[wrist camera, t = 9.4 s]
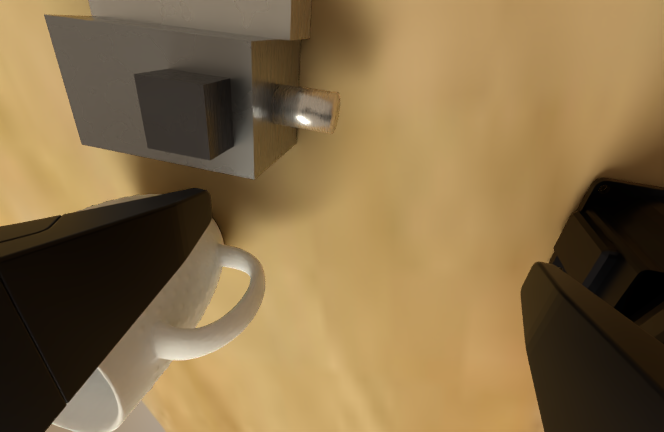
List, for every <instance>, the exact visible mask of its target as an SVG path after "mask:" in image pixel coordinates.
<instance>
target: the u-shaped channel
mask: <svg viewBox="0 0 664 432" xmlns="http://www.w3.org/2000/svg"><path fill="white" fill-rule="evenodd" d="M88 1H89V5H90V10H91V14H92V16H72V15H44V16H45V20H46V23H47V27H48V30H49V33H50V37H51V40H52V44H53V47H54V51H55V54H56V58H57V61H58V64H59V68H60V71H61V75H62V78H63V82H64V85H65V88H66V92H67V95H68V99H69V102H70V106H71V109H72V112H73V116H74V119H75V123H76V126H77V130H78V133H79V137H80V140H81V143H82V145H87V146H92V147H97V148H102V149H107V150H112V151H117V152H122V153H126V154H131V155H136V156H141V157H146V158H151V159H156V160H161V161H166V162H171V163H175V164H180V165H185V166H190V167H195V168H200V169H205V170H210V171H215V172H220V173H224V174H229V175H234V176H239V177H244V178H249V179H256V178H257V177H258V176H259V175H260V174H261V173H263V172H264V171H265V170H266V169H267V168H268V167H270V166H271V165H272V164H273V163H274V162H275V161H277V160H278V159H279V158H280V157H281V156H282V155H284V154H285V153H286V152H287V151H288V150H289V149H291V148H292V147H293V146H294V145H295V144H296V137H297V128H301V129H307V130H313V131H319V132H324V133H330V134H333V133H334V131H335V129H336V126H337V122H338V117H339V111H340V95H339V93H338V92H331V91H325V90H318V89H311V88H305V87H299V68H300V45H301V39H310V21H311V3H312V0H88Z"/></svg>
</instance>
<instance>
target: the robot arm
mask: <svg viewBox="0 0 664 432" xmlns="http://www.w3.org/2000/svg"><path fill="white" fill-rule="evenodd" d="M603 185H607V187H606V188H605V189H604V190H602V191H598V190H599V188H600V187H601V186H603ZM211 220H212V207H211V197H210V193H209V192H208V191H207V190H203V189H199V188H191V189H187V190H182V191H177V192H172V193H167V194H162V195H157V196H152V197H147V198H142V199H137V200H132V201H127V202H123V203H118V204H113V205H108V206H103V207H98V208H93V209H88V210H83V211H78V212H73V213H68V214H64V215H62V216H61V215H58V216H53V217H48V218H43V219H38V220H33V221H28V222H23V223H17V224H12V225H6V226H0V432H45V431H46V430H47V429H48V428H49V426H50V425H51V424H52V423H53V421H54V420H55V419H56V418H57V417H58V415H59V414H60V413H61V412H62V411H63V409H64V408H65V407H66V405H67V404H66V403H69V402H70V400H71V399H72V398H73V397H74V396H75V394H76V393H77V392H78V391H79V390H80V388H81V387H82V386H83V385H84V383H85V382H86V381H87V380H88V379H89V377H90V376H91V375H92V374H93V373H94V371H95V370H96V369H97V368H98V366H99V365H100V364H101V363H102V362H103V360H104V359H105V358H106V357H107V356H108V354H109V353H110V352H111V351H112V349H113V348H114V347H115V346H116V345H117V343H118V342H119V341H120V340H121V339H122V337H123V336H124V335H125V334H126V333H127V331H128V330H129V329H130V328H131V326H132V325H133V324H134V323H135V322H136V320H137V319H138V318H139V317H140V316H141V314H142V313H143V312H144V311H145V309H146V308H147V307H148V306H149V305H150V303H151V302H152V301H153V300H154V299H155V297H156V296H157V295H158V294H159V292H160V291H161V290H162V289H163V288H164V286H165V285H166V284H167V283H168V282H169V280H170V279H171V278H172V277H173V275H174V274H175V273H176V272H177V271H178V269H179V268H180V267H181V266H182V264H183V263H184V262H185V260H186V259H187V258H188V256H189V255H190V253H191V252H192V250H193V249H194V247H195V246H196V244H197V243H198V241H199V240H200V238H201V236H202V235H203V233H204V232H205V230H206V229H207V227H208V226H209V224H210V222H211ZM554 251H555V252H554V254H553V256H552V258H551V260H550V262H549V263H544V262H536V263H534V265H533V266H532V268H531V270H530V272H529V274H528V276H527V278H526V279H525V281H524V283H523V285H522V288H521V304H522V315H523V326H524V336H525V345H526V351H527V356H528V361H529V365H530V370H531V374H532V379H533V383H534V388H535V392H536V397H537V401H538V405H539V410H540V414H541V419H542V423H543V428H544V432H664V188H662V187H657V186H651V185H645V184H639V183H633V182H627V181H621V180H616V179H610V178H599V179H597V180H595V181H593V183H592V184H591V185H590V187H589V189H588V191H587V193H586V195H585V196H584V198H583V200H582V202H581V204H580V206H579V208H578V210H577V211H575V212H574V213H572V214H571V216H570V218H569V220H568V222H567V223H566V225H565V227H564V229H563V231H562V233H561V235H560V237H559V239H558V240H557V242H556V244H555V246H554ZM558 267H561V268H558Z"/></svg>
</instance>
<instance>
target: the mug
mask: <svg viewBox="0 0 664 432" xmlns="http://www.w3.org/2000/svg"><path fill="white" fill-rule="evenodd" d="M157 195H162V194H146V195H134V196H130V197H123V198H119V199H115V200H110V201H106V202H103V203H101V204H98V205H92V206H90V207H87V208H85V209H83V210H88V209H93V208H98V207H103V206H108V205H113V204H118V203H123V202H127V201H132V200H137V199H142V198H147V197H152V196H157ZM83 210H79V211H83ZM77 212H78V211H77ZM222 267H230V268H235V269H238V270H241V271H243V272H246V273H247V274H248V275H249V276H250V278H251V279H250V285H249V287H248V289H247V291H246V293H245V295H244V296H243V297H242V299H241V300H240V301H239V302H238V304H237V305H236V306H235V307H234V308H233V309H232V310H231V311H229V312H228V313H227V314H226V315H224V316H223V317H222V318H220V319H219V320H217V321H215V322H213V323H211V324H209V325H206V326H203V327H200V328H195V327H196V325H197V324H198V322H199V321H200V320H201V318H202V316H203V315H204V312H205V310H206V309H207V306H208V305H209V303H210V301H211V298H212V296H213V294H214V293H215V289H216V287H217V283H218V281H219V278H220V274H221V271H222ZM264 292H265V275H264V270H263V267H262V265H261V263H260V262H259V261H258V259H257V258H256V257H255V256H253V255H252V254H250V253H249V252H247V251H244V250H242V249H240V248H236V247H232V246H228V245H224V242H223V238H222V235H221V232H220V230H219V227H218V226H217V224H216V222H215V221H214V220H213V218H212V220H211V222H210V224H209V226H208V227H207V229H206V230H205V232H204V233H203V235H202V236H201V238H200V240H199V241H198V243H197V244H196V246H195V247H194V249H193V250H192V252H191V253H190V255H189V256H188V258H187V259H186V260H185V262H184V263H183V264H182V266H181V267H180V268H179V269H178V271H177V272H176V273H175V274H174V275H173V277H172V278H171V279H170V280H169V282H168V283H167V284H166V285H165V286H164V288H163V289H162V290H161V291H160V292H159V294H158V295H157V296H156V297H155V299H154V300H153V301H152V302H151V303H150V305H149V306H148V307H147V308H146V309H145V311H144V312H143V313H142V314H141V316H140V317H139V318H138V319H137V320H136V322H135V323H134V324H133V325H132V326H131V328H130V329H129V330H128V331H127V333H126V334H125V335H124V336H123V337H122V339H121V340H120V341H119V342H118V343H117V345H116V346H115V347H114V348H113V349H112V351H111V352H110V353H109V354H108V356H107V357H106V358H105V359H104V360H103V362H102V363H101V364H100V365H99V366H98V368H97V369H96V370H95V371H94V373H93V374H92V375H91V376H90V377H89V379H88V380H87V381H86V382H85V383H84V385H83V386H82V387H81V388H80V390H79V391H78V392H77V393H76V394H75V396H74V397H73V398H72V399H71V400H70V402H69V403H66V404H67V405H66V407H65V408H64V409H63V411H62V412H61V413H60V414H59V415H58V417H57V418H56V419H55V420H54V421H53V423H52V424H54V425H57V426H59V427H62V428H65V429H68V430H71V431H74V432H112V431H114V430H116V429H117V428H118V427H119V426H120V425H121V424H122V423H123V422H124V420H125V419H126V418H127V417H128V415H129V414H130V413H131V412H132V411H133V409H134V408H135V407H136V406H137V404H138V403H139V402H140V401H141V399H142V398H143V397H144V396H145V394H146V393H147V392H148V391H150V390H151V389H152V387H153V385H154V383H155V382H156V381H157V380H158V379H159V377H160V376H161V375H162V374H163V372H164V371H165V370H166V369H167V368H168V366H169V364H170V363H171V362H172V361H173V360H188V359H194V358H198V357H201V356H204V355H207V354H209V353H212V352H214V351H216V350H218V349H220V348H222V347H223V346H225V345H226V344H228V343H229V342H230V341H232V340H233V339H234V338H236V337H237V336H238V335H239V334H240V333H241V332H242V331H243V330H244V329H245V328H246V327H247V326H248V325H249V323H250V322H251V321H252V319H253V318H254V316H255V315H256V313H257V311H258V309H259V307H260V305H261V303H262V300H263V296H264Z"/></svg>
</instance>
